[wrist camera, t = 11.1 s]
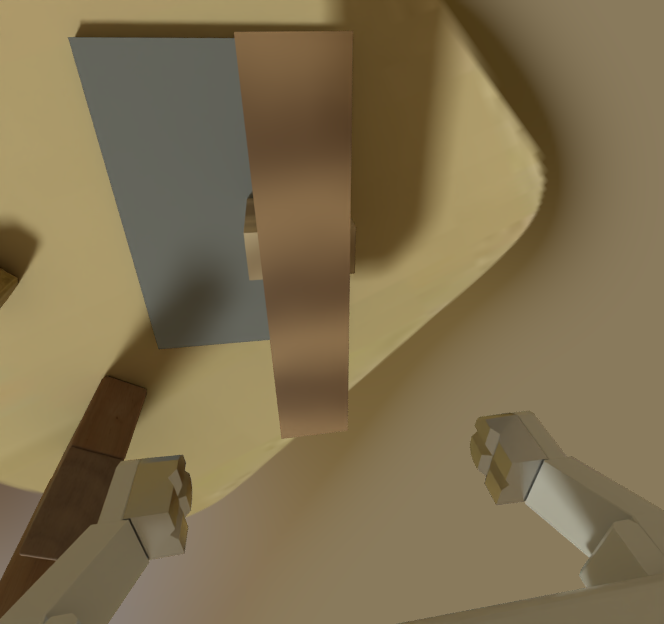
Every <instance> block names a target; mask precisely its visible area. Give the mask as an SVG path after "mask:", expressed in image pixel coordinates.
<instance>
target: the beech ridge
mask: <svg viewBox="0 0 664 624" xmlns="http://www.w3.org/2000/svg"><path fill="white" fill-rule="evenodd" d="M244 241H245V249H246V257H247V265H248V273H249V280H263V276H262V267H261V259H260V250H259V242H258V233H257V225H256V216H255V208H254V199H253V198H249V199H247V203H246V213H245V223H244ZM355 245H356V226H355V224H354V222H353V220H352V219H351V218H350V274H352V273H355Z"/></svg>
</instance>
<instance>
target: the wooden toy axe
mask: <svg viewBox="0 0 664 624" xmlns="http://www.w3.org/2000/svg"><path fill="white" fill-rule="evenodd" d="M146 394H147V392H146V389H144V388H142V387H139V386H136V385H133V384H130V383H127V382H124V381H121V380H118V379H115V378H112V377H108V376H106V377H105V378H103V379H102V380H101V382H100V384H99V386H98V388H97V390H96V392H95V394H94V396H93V398H92V400H91V402H90V404H89V406H88V408H87V410H86V412H85V414H84V416H83V418H82V420H81V421H80V423H79V425H78V427H77V429H76V431H75V433H74V435H73V437H72V439H71V441H70V443H69V444H68V446H67V448H66V450H65V452H64V454H63V456H62V458H61V460H60V462H59V464H58V466H57V468H56V470H55V472H54V474H53V477H52V478H51V479H50V481H49V483H48V485H47V487H46V489H45V491H44V493H43V495H42V497H41V499H40V501H39V503H38V505H37V507H36V509H35V511H34V513H33V516H32V518H31V520H30V522H29V524H28V526H27V528H26V530H25V532H24V534H23V536H22V538H21V540H20V542H19V544H18V546H17V548H16V550H15V552H14V554H13V556H12V558H11V560H10V562H9V564H8V566H7V568H6V570H5V572H4V574H3V576H2V578H1V580H0V619H1V618H2V616H3V615H4V614H5V613H6V612H7V611H8V610H9V609H10V608H11V607H12V606H13V605H14V604H15V603H16V602H17V601H18V600H19V599H20V598H21V597H22V596H23V595H24V594H25V593H26V592H27V591H28V590H29V588H30V587H31V586H32V585H33V584H34V583H35V582H36V581H37V580H38V579H39V578H40V577H41V576H42V575H43V574H44V573H45V572H46V571H47V570H48V569H49V568H50V567H51V566H52V565H53V564H54V563H55V562H56V561H57V559H58V558H59V557H60V556H61V555H62V554H63V553H64V552H65V551H66V550H67V549H68V548H69V547H70V546H71V545H72V544H73V543H74V542H75V541H76V540H77V539H78V538H79V537H80V536H81V535H82V534H83V533H84V531H85V530H86V529H87V528H88V527H89V526H90V525H93V524H97V523H98V520H99V517H100V514H101V511H102V508H103V505H104V502H105V499H106V496H107V493H108V490H109V487H110V484H111V481H112V478H113V475H114V472H115V469H116V467H117V466H118V464H119V463H120V462H121V461H124V459H125V457H126V454H127V451H128V448H129V445H130V442H131V439H132V436H133V433H134V430H135V427H136V424H137V421H138V418H139V415H140V412H141V409H142V406H143V403H144V400H145V397H146Z"/></svg>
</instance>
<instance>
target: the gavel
mask: <svg viewBox="0 0 664 624" xmlns="http://www.w3.org/2000/svg"><path fill="white" fill-rule="evenodd" d="M17 285H18V278H17V277H15V276H13V275H11V274H9V273H8V272H6V271H4V270H2V269H0V308H1V307H2V305H3V304H4V303H5V302H6V300H7V299H8V298H9V296H10V295H11V294H12V292H13V291H14V289H15V288H16V286H17Z"/></svg>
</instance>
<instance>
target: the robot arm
mask: <svg viewBox="0 0 664 624" xmlns="http://www.w3.org/2000/svg"><path fill="white" fill-rule="evenodd" d="M475 427H476V429H477V432H476V433H475V434H474V435H473V436H472V437H471V441H470V451H471V456H472V459H473V462H474V464H475V466H476V468H477V469H478V470H479V471H480V472H482V473H483V474H484V475H486V478H485V485H486V487H487V489H488V491H489V493H490V495H491V497H492V498H493V500H494V502H495V504H496V505H501V504H508V503H516V502H524V501H526V502H525V504H526V505H528V506H529V507H530V508H531V509H532V510H534V511H535V512H536V513H537V514H538V515H539V516H541V517H542V518H543V519H544V520H545V521H547V522H548V523H549V524H550V525H551V526H553V527H554V528H555V529H556V530H557V531H558V532H560V533H561V534H562V535H563V536H564V537H566V538H567V539H568V540H569V541H570V542H571V543H573V544H574V545H575V546H576V547H577V548H579V549H580V550H581V551H582V552H583V553H584V554H586V555H587V556H588V557H589V559H588V561H587V562H586V563H585V565H584V566H583V568H582V569H581V572H580V575H579V576H580V578H581V579H582V581H583V583H584V585H585V586H586V588H582V589H577V590H572V591H567V592H561V593H556V594H551V595H545V596H541V597H535V598H530V599H525V600H519V601H514V602H509V603H503V604H498V605H493V606H488V607H482V608H477V609H472V610H466V611H461V612H456V613H450V614H445V615H440V616H435V617H429V618H424V619H419V620H414V621H408V622H403V623H398V624H664V510H662V509H661V508H659V507H657V506H656V505H654V504H652V503H651V502H649V501H647V500H645V499H644V498H642V497H640V496H639V495H637V494H635V493H634V492H632V491H630V490H628V489H627V488H625V487H623V486H622V485H620V484H618V483H617V482H615V481H613V480H611V479H610V478H608V477H606V476H605V475H603V474H601V473H600V472H598V471H596V470H595V469H593V468H591V467H589V466H588V465H586V464H584V463H583V462H581V461H579V460H577V459H576V458H574V457H572V456H570V457H567V456H566V455H565V453H564V452H563V451H562V449H561V448H560V447H559V446H558V444H557V443H556V442H555V440H554V439H553V438H552V437H551V435H550V434H549V433H548V431H547V430H546V429H545V428H544V426H543V425H542V423H541V422H540V421H539V419H538V418H537V417H536V416H535V414H534V413H533V412H531V411H522V412H514V413H503V414H496V415H489V416H482V417H479V418H478V419H477V420H476V423H475ZM185 466H186V461H185V459H184V456H183V455H175V456H165V457H155V458H145V459H136V460H127V461H121V462H120V463H119V464H118V466H117V467H116V469H115V472H114V475H113V478H112V481H111V484H110V487H109V490H108V493H107V496H106V499H105V502H104V505H103V508H102V511H101V514H100V517H99V520H98V523H97V524H93V525H90V526H89V527H88V528H87V529H86V530H85V531H84V533H83V534H82V535H81V536H80V537H79V538H78V539H77V540H76V541H75V542H74V543H73V544H72V545H71V546H70V547H69V548H68V549H67V550H66V551H65V552H64V553H63V554H62V555H61V556H60V557H59V558H58V559H57V561H56V562H55V563H54V564H53V565H52V566H51V567H50V568H49V569H48V570H47V571H46V572H45V573H44V574H43V575H42V576H41V577H40V578H39V579H38V580H37V581H36V582H35V583H34V584H33V585H32V586H31V587H30V588H29V590H28V591H27V592H26V593H25V594H24V595H23V596H22V597H21V598H20V599H19V600H18V601H17V602H16V603H15V604H14V605H13V606H12V607H11V608H10V609H9V610H8V611H7V612H6V613H5V614H4V615H3V616H2V618H1V619H0V624H108V623H109V621H110V620H111V618H112V617H113V615H114V614H115V612H116V611H117V609H118V608H119V606H120V605H121V603H122V602H123V601H124V599H125V598H126V596H127V595H128V593H129V592H130V590H131V589H132V587H133V586H134V584H135V583H136V581H137V580H138V578H139V577H140V575H141V573H142V572H143V571H144V569H145V568H146V566H147V565H148V563H149V561H148V560H152V559H158V558H163V557H169V556H174V555H180V554H184V553H185V546H186V540H187V532H188V525H187V522H186V519H185V517H186V515H187V514H188V513H189V512H190V511H191V504H192V483H191V477H190V474H189V473H188V472H186V471H185Z"/></svg>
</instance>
